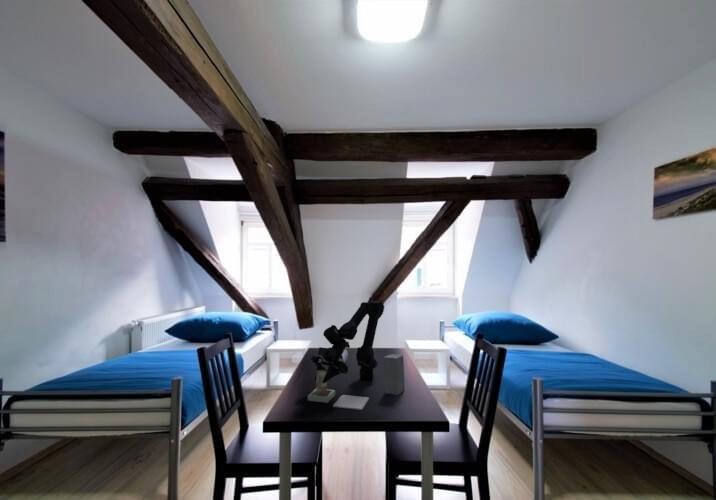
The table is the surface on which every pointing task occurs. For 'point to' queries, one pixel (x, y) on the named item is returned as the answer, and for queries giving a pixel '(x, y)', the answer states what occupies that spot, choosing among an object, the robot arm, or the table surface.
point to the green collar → (326, 399)
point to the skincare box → (394, 374)
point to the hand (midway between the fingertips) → (319, 381)
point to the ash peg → (321, 383)
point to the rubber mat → (351, 402)
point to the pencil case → (344, 356)
